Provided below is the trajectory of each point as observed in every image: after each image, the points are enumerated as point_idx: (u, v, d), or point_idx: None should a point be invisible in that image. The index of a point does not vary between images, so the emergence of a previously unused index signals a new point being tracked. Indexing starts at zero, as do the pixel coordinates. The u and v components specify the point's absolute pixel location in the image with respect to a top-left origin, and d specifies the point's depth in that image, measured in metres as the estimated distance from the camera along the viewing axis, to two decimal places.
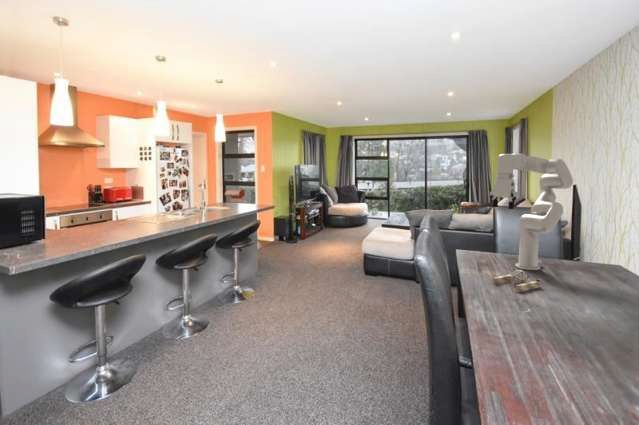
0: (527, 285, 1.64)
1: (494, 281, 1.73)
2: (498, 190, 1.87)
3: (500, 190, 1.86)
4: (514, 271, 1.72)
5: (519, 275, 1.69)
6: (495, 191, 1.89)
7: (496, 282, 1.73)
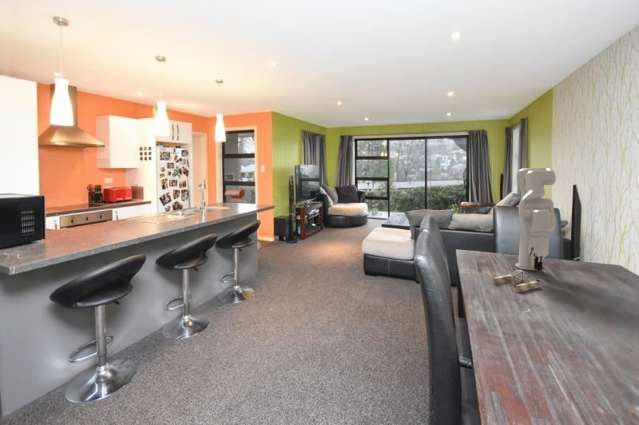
0: (527, 285, 1.64)
1: (494, 281, 1.73)
2: (541, 249, 1.72)
3: (543, 249, 1.73)
4: (514, 271, 1.72)
5: (519, 275, 1.69)
6: (538, 251, 1.72)
7: (496, 282, 1.73)
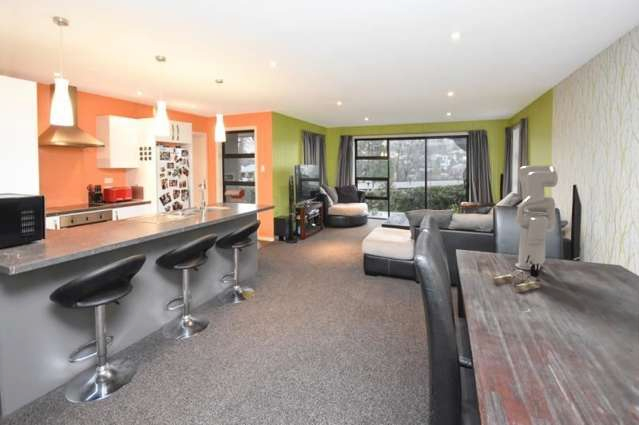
0: (527, 285, 1.64)
1: (494, 281, 1.73)
2: (538, 257, 1.72)
3: (540, 256, 1.73)
4: (514, 271, 1.72)
5: (519, 275, 1.69)
6: (535, 258, 1.72)
7: (496, 282, 1.73)
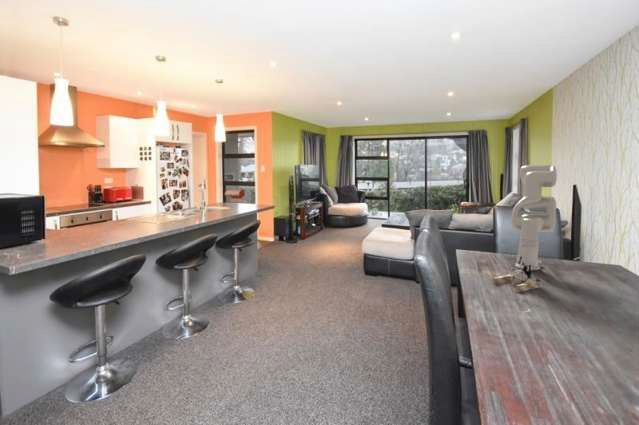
0: (527, 285, 1.64)
1: (494, 281, 1.73)
2: (530, 259, 1.70)
3: (532, 258, 1.70)
4: (514, 271, 1.72)
5: (519, 275, 1.69)
6: (527, 260, 1.69)
7: (496, 282, 1.73)
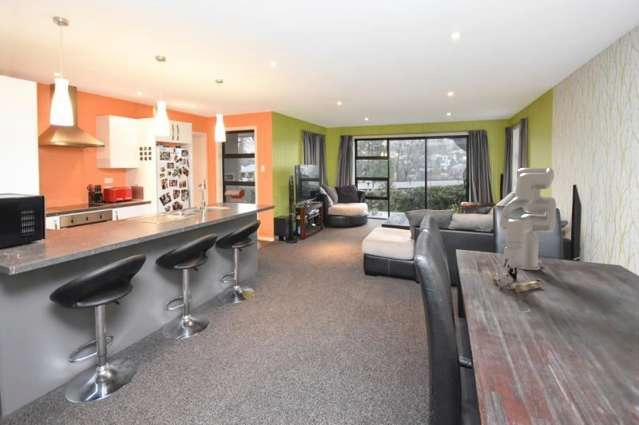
0: (527, 285, 1.64)
1: (494, 281, 1.73)
2: (516, 261, 1.65)
3: (517, 260, 1.66)
4: (499, 274, 1.67)
5: (505, 278, 1.64)
6: (512, 262, 1.65)
7: (496, 282, 1.73)
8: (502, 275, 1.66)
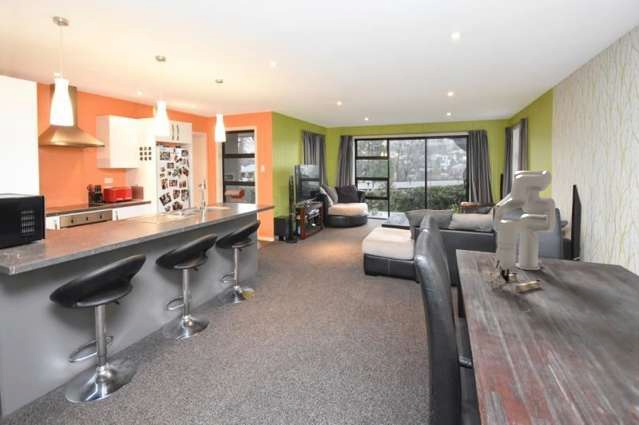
0: (527, 285, 1.64)
1: None
2: (508, 262, 1.63)
3: (510, 261, 1.64)
4: (491, 276, 1.65)
5: (497, 280, 1.62)
6: (504, 264, 1.63)
7: None
8: (494, 277, 1.63)
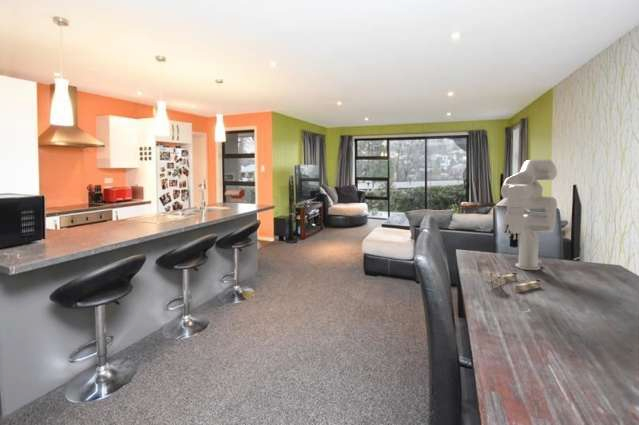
0: (527, 285, 1.64)
1: None
2: (517, 226, 1.66)
3: (519, 226, 1.66)
4: (492, 276, 1.65)
5: (497, 280, 1.62)
6: (514, 228, 1.65)
7: None
8: (494, 277, 1.63)
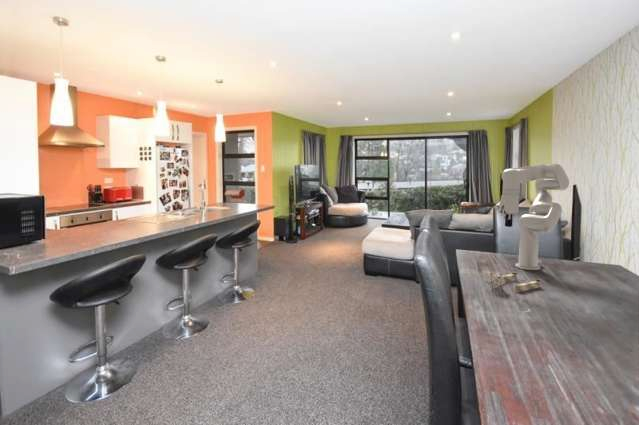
0: (527, 285, 1.64)
1: None
2: (511, 207, 1.81)
3: (513, 206, 1.81)
4: (492, 276, 1.65)
5: (497, 280, 1.62)
6: (508, 208, 1.80)
7: None
8: (494, 277, 1.63)
